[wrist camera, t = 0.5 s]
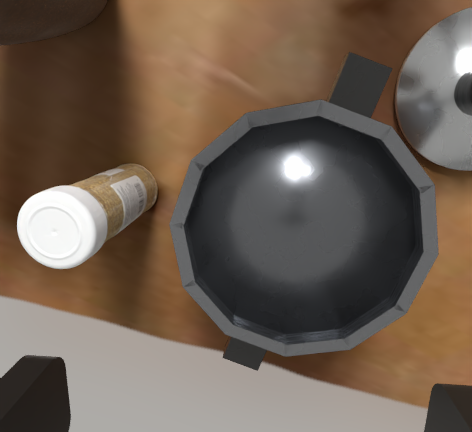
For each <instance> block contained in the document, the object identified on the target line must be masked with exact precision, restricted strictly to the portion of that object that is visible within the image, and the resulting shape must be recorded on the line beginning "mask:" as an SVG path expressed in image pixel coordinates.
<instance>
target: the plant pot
mask: <svg viewBox="0 0 472 432" xmlns="http://www.w3.org/2000/svg"><path fill="white" fill-rule="evenodd" d="M106 3H107V0H0V45H10V44H19V43H26V42H33V41H39V40H44V39H49V38H53V37H57V36H60V35H63V34H66V33H69V32H72V31H74V30H77V29H79V28H81V27H83V26H85V25H87V24H89V23H90V22H92V21H93V20H94V19H95V18H96V17H97V16H98V15H99V14H100V13H101V12H102V10H103V9H104V7H105V5H106Z"/></svg>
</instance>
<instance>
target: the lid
mask: <svg viewBox="0 0 472 432" xmlns="http://www.w3.org/2000/svg"><path fill="white" fill-rule="evenodd" d="M394 97H395V112H396V118H397V121H398V125H399V127H400V129H401V132H402V134H403V136H404V137H405V139H406V140H407V142H408V143H409V144H410V145H411V147H412V148H413V149H414V150H415V151H416V152H417V153H419V154H420V155H421V156H422V157H424V158H425V159H427V160H429V161H431V162H433V163H435V164H437V165H440V166H443V167H447V168H450V169H456V170H469V171H471V170H472V7H471V8H467V9H464V10H462V11H459V12H457V13H454V14H453V15H451V16H449V17H447V18H445V19H443V20H442V21H440V22H438V23H437V24H436V25H434V26H433V27H431V28H430V29H429V30H428V31H427V32H426V33H425V34H423V35H422V36H421V37H420V39H419V40H418V41H417V42H416V43H415V44H414V46H413V47H412V49H411V50H410V52H409V53H408V54H407V56H406V58H405V60H404V62H403V64H402V66H401V69H400V72H399V74H398V78H397V82H396V87H395V95H394Z"/></svg>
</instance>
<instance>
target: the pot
mask: <svg viewBox="0 0 472 432" xmlns="http://www.w3.org/2000/svg"><path fill="white" fill-rule="evenodd" d="M391 71H392V68H390V67H387V66H384V65H382V64H379V63H377V62H374V61H372V60H369V59H366V58H364V57H361V56H359V55H356V54H353V53H351V52H349V53H348V54H347V55H345V57H344V59H343V62H342V64H341V66H340V69H339V71H338V74H337V76H336V78H335V81H334V83H333V86H332V88H331V91H330V93H329V95H328V98H327V100H326V101H324V100H316V101H310V102H305V103H299V104H293V105H288V106H282V107H277V108H271V109H265V110H260V111H254V112H248V113H246V114H244V115H243V116H242V117H241V118H240V119H239V120H237V121H236V122H235V123H234V124H233V125H232V126H230V127H229V128H228V129H227V130H226V131H225V132H223V133H222V134H221V135H220V136H219V137H218V138H216V139H215V140H214V141H213V142H212V143H211V144H209V145H208V146H207V147H206V148H205V149H204V150H202V151H201V152H200V153H199V154H198V155H197V156H195V157H194V158H193V159H192V160H191V162H190V165H189V168H188V171H187V174H186V177H185V180H184V183H183V186H182V189H181V192H180V195H179V198H178V201H177V204H176V206H175V209H174V212H173V215H172V218H171V221H170V229H171V234H172V239H173V243H174V248H175V252H176V257H177V262H178V266H179V271H180V276H181V280H182V285H183V288H184V289H185V290H186V291H187V292H188V293H189V294H190V296H191V297H192V298H193V299H194V300H195V301H196V302H197V303H198V304H199V306H200V307H201V308H202V309H203V310H204V311H205V312H206V313H207V315H208V316H209V317H210V318H211V319H212V320H213V321H214V322H215V323H216V325H217V326H218V327H219V328H220V329H221V330H222V331H223V332H224V333H225V334H226V335H228V336H229V338H228V340H227V343H226V345H225V349H224V354H223V358H225V359H228V360H230V361H233V362H236V363H238V364H241V365H244V366H246V367H249V368H252V369H254V370H258V369H259V366H260V364H261V362H262V360H263V357H264V355H265V353H266V351H267V350H269V351H271V352H274V353H277V354H280V355H282V356H285V357H286V356H296V355H305V354H314V353H324V352H333V351H342V350H351V349H352V348H354V347H355V346H357V345H358V344H360V343H361V342H363V341H364V340H366V339H368V338H369V337H371V336H372V335H374V334H375V333H377V332H378V331H380V330H381V329H383V328H385V327H386V326H388V325H389V324H391V323H392V322H394V321H395V320H397V319H399V318H400V317H402V316H403V315H405V314H406V313H407V311H408V309H409V308H410V306H411V304H412V302H413V300H414V298H415V296H416V295H417V293H418V291H419V289H420V287H421V285H422V284H423V282H424V280H425V278H426V276H427V274H428V272H429V271H430V269H431V267H432V265H433V263H434V261H435V259H436V258H437V256H438V236H437V218H436V200H435V185H434V183H433V182H432V181H431V179H430V178H429V177H428V175H427V174H426V172H425V171H424V170H423V168H422V167H421V166H420V164H419V163H418V162H417V160H416V159H415V157H414V156H413V155H412V153H411V152H410V151H409V149H408V148H407V147H406V145H405V144H404V143H403V141H402V140H401V138H400V137H399V136H398V134H397V133H396V132H395V130H394V129H393V128H392V127H391V126H389V125H386V124H384V123H381V122H378V121H376V120H373V119H371V116H372V113H373V111H374V109H375V107H376V104H377V102H378V100H379V98H380V95H381V93H382V91H383V89H384V87H385V84H386V82H387V80H388V78H389V75H390V73H391Z"/></svg>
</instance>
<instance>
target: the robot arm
mask: <svg viewBox="0 0 472 432" xmlns="http://www.w3.org/2000/svg"><path fill="white" fill-rule="evenodd" d="M70 418H71V414H70V404H69V395H68V386H67V376H66V367H65V363H64V360H63V359H62V358H60V357H49V356H48V357H47V356H34V355H26V356H24V357H22V358H21V359H20V360H19V361H18V362H17V363H16V364H15V365H14V366H13V367H12V368H11V369H10V370H9V371H8V372H7V373H6V374H5V375H4V376H3V377H2V378H0V432H68V430H69V426H70ZM424 432H472V386H467V385H452V384H435V385H434V386H433V388H432V391H431V396H430V401H429V407H428V413H427V419H426V425H425V430H424Z"/></svg>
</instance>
